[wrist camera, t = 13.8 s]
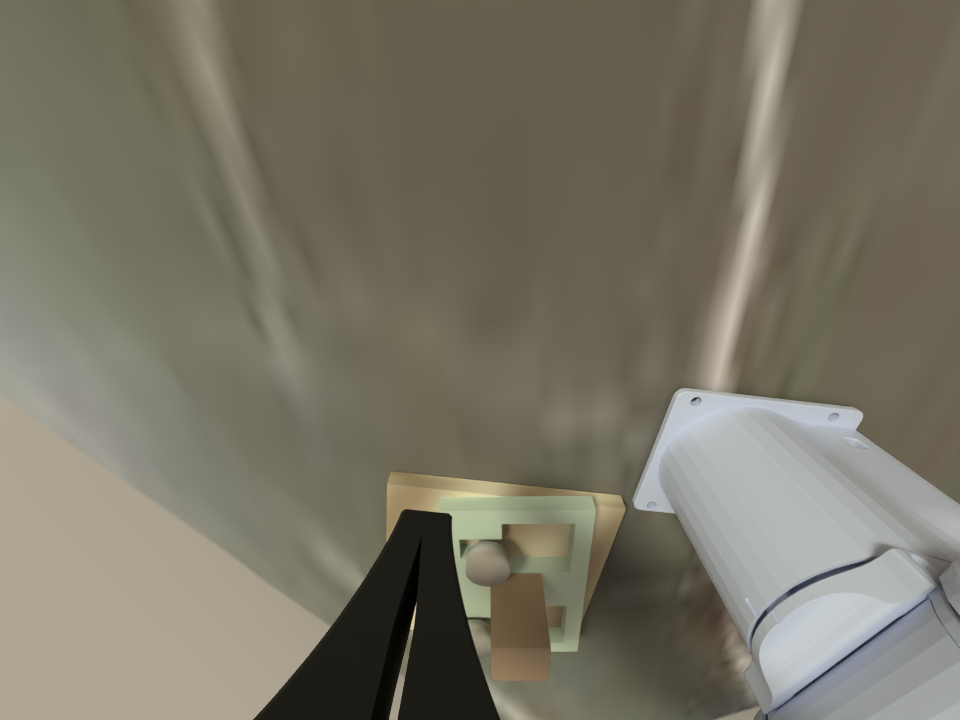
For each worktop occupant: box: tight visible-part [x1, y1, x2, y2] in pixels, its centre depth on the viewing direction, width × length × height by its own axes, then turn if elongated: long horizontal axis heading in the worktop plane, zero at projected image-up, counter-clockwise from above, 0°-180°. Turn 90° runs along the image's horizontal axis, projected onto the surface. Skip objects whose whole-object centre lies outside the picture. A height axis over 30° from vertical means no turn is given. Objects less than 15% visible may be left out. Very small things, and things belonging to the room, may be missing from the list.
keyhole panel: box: [438, 496, 596, 681], centre depth 22 cm, size 8×13×5 cm, turn 2°
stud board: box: [386, 471, 626, 658], centre depth 24 cm, size 13×13×3 cm
